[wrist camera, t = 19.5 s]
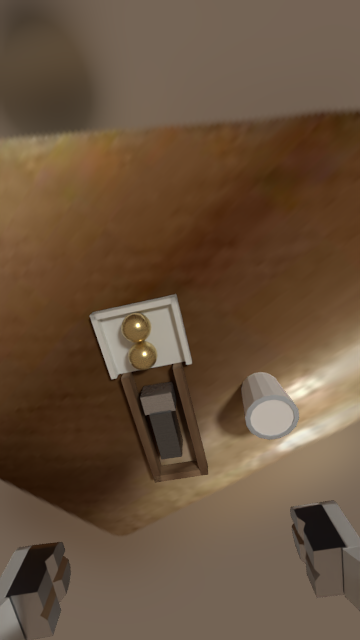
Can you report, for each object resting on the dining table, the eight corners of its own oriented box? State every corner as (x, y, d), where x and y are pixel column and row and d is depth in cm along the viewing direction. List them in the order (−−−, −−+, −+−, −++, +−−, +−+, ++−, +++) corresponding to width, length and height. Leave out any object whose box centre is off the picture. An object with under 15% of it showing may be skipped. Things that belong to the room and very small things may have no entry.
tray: (176, 294, 39) (175, 296, 38) (191, 359, 43) (191, 363, 41) (92, 312, 41) (89, 315, 39) (113, 374, 44) (111, 379, 42)
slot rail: (181, 361, 43) (181, 367, 41) (207, 464, 49) (208, 474, 47) (123, 372, 44) (120, 379, 42) (156, 472, 50) (155, 482, 48)
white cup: (257, 415, 45) (269, 448, 39) (227, 388, 44) (234, 418, 37) (292, 388, 44) (310, 418, 37) (262, 359, 42) (275, 385, 36)
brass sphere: (161, 352, 43) (154, 333, 40) (159, 374, 40) (151, 354, 37) (135, 356, 43) (126, 337, 41) (131, 377, 40) (121, 358, 38)
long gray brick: (170, 393, 41) (186, 455, 44) (172, 380, 44) (186, 438, 47) (139, 399, 41) (157, 459, 44) (143, 385, 44) (159, 442, 48)
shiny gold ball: (155, 324, 41) (147, 304, 39) (154, 346, 38) (145, 325, 36) (128, 329, 42) (118, 309, 39) (125, 351, 39) (114, 331, 36)
